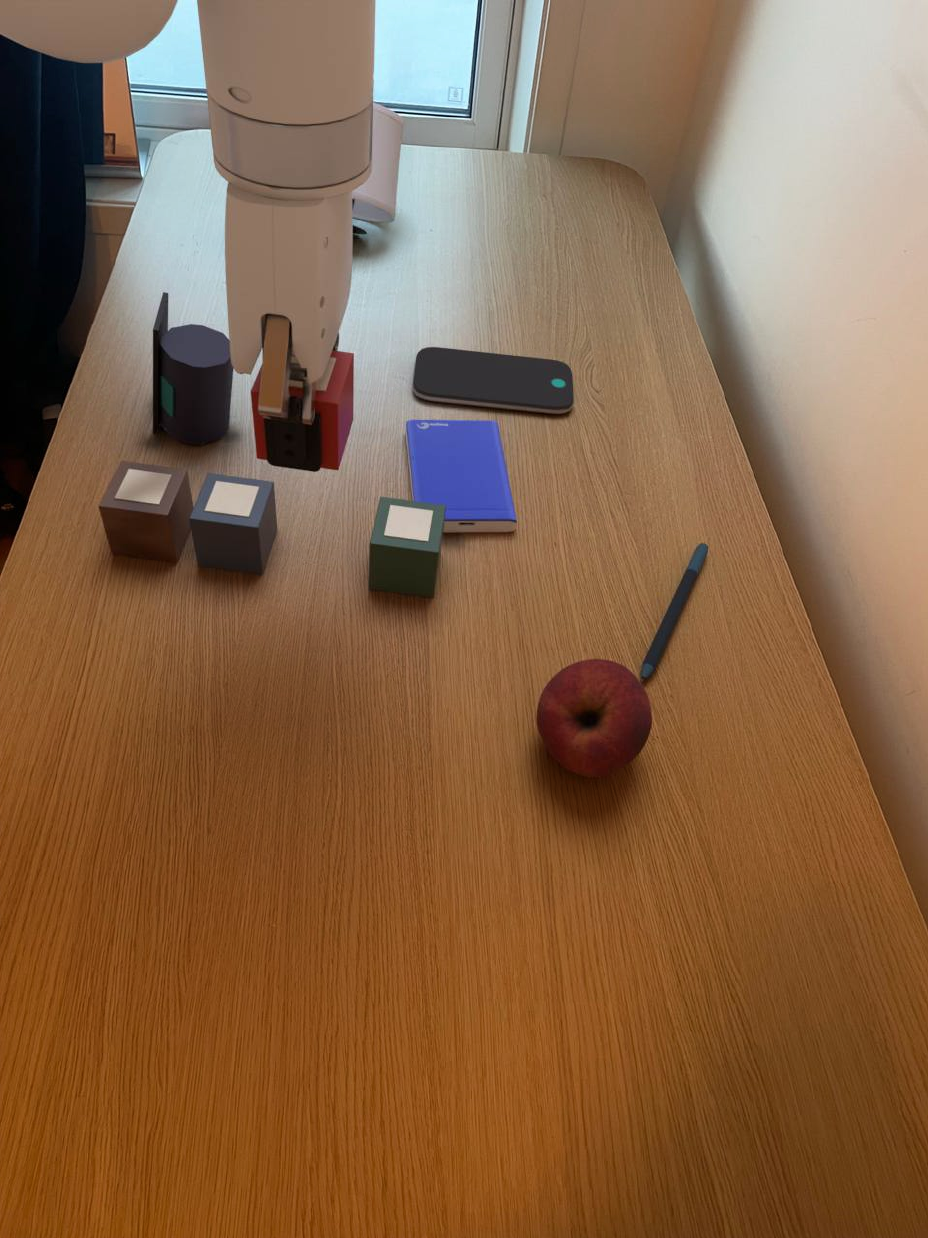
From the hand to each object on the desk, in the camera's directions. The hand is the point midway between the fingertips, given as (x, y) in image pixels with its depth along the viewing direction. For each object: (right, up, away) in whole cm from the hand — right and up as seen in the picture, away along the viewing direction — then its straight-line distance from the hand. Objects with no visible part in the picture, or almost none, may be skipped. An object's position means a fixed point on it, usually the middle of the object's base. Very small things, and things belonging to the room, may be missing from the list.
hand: (305, 432), depth 58 cm
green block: (+5, -8, +15) cm, 17 cm away
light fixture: (-6, +32, +46) cm, 56 cm away
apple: (+18, -20, +6) cm, 28 cm away
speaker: (-13, +6, +23) cm, 27 cm away
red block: (0, 0, 0) cm, 0 cm away
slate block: (-8, -6, +14) cm, 17 cm away
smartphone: (+13, +11, +31) cm, 35 cm away
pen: (+26, -11, +14) cm, 32 cm away
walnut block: (-14, -5, +14) cm, 21 cm away
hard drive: (+9, 0, +22) cm, 24 cm away
